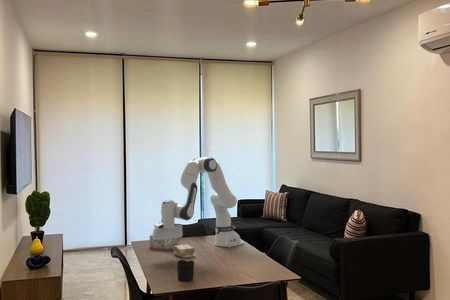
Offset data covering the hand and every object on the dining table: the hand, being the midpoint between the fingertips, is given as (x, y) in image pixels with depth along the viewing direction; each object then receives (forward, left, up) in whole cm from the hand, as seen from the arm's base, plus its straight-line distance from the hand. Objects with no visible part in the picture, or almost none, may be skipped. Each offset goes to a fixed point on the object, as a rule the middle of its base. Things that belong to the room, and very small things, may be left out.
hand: (167, 245), depth 290 cm
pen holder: (+9, +50, -8) cm, 51 cm away
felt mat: (-13, 0, -8) cm, 15 cm away
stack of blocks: (-8, -26, -8) cm, 29 cm away
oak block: (-7, 0, -5) cm, 8 cm away
